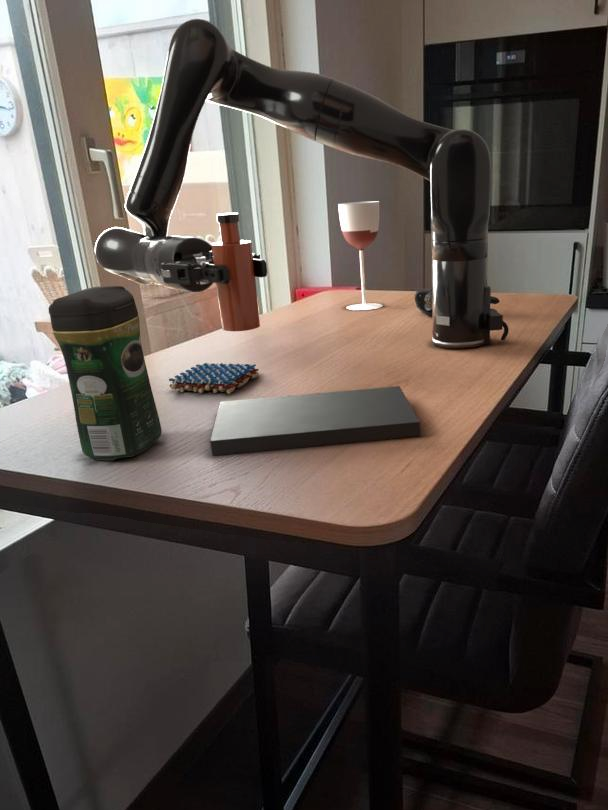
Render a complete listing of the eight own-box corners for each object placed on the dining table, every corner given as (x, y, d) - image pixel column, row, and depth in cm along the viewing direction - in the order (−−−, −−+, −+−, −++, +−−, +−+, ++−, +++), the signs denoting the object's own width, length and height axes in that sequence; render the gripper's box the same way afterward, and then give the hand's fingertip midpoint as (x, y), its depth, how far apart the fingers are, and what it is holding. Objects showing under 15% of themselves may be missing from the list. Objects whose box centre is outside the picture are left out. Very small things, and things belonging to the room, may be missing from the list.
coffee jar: (114, 433, 89) (81, 282, 81) (172, 434, 87) (144, 280, 79) (70, 462, 80) (29, 297, 72) (133, 464, 78) (98, 295, 71)
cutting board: (400, 398, 95) (399, 385, 94) (420, 436, 81) (420, 421, 80) (222, 414, 93) (220, 401, 92) (212, 455, 79) (209, 441, 79)
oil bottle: (254, 321, 99) (241, 211, 93) (265, 327, 94) (252, 213, 88) (218, 326, 97) (202, 214, 91) (227, 333, 92) (212, 216, 86)
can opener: (409, 317, 144) (409, 290, 142) (420, 311, 150) (419, 284, 148) (494, 319, 138) (495, 290, 136) (502, 312, 144) (503, 284, 141)
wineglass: (389, 302, 162) (384, 200, 153) (376, 310, 154) (370, 203, 145) (353, 302, 165) (347, 202, 156) (339, 310, 156) (331, 205, 147)
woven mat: (232, 395, 101) (230, 381, 100) (167, 392, 104) (165, 379, 103) (262, 375, 110) (260, 362, 109) (202, 373, 113) (200, 361, 112)
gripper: (129, 241, 96) (192, 247, 85) (219, 231, 105) (287, 235, 93) (139, 297, 99) (201, 310, 88) (225, 282, 108) (292, 292, 96)
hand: (245, 271), depth 91 cm, fingers closed on oil bottle, 5 cm apart
